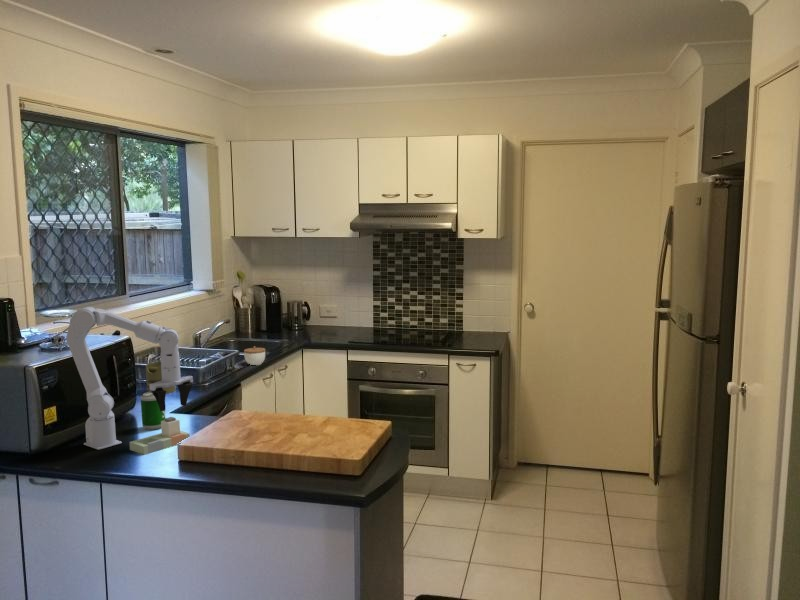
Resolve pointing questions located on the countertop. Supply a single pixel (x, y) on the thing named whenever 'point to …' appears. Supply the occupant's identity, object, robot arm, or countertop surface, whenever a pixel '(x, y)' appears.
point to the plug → (170, 427)
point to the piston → (156, 376)
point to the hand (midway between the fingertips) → (173, 408)
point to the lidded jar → (254, 355)
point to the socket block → (156, 442)
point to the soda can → (151, 412)
